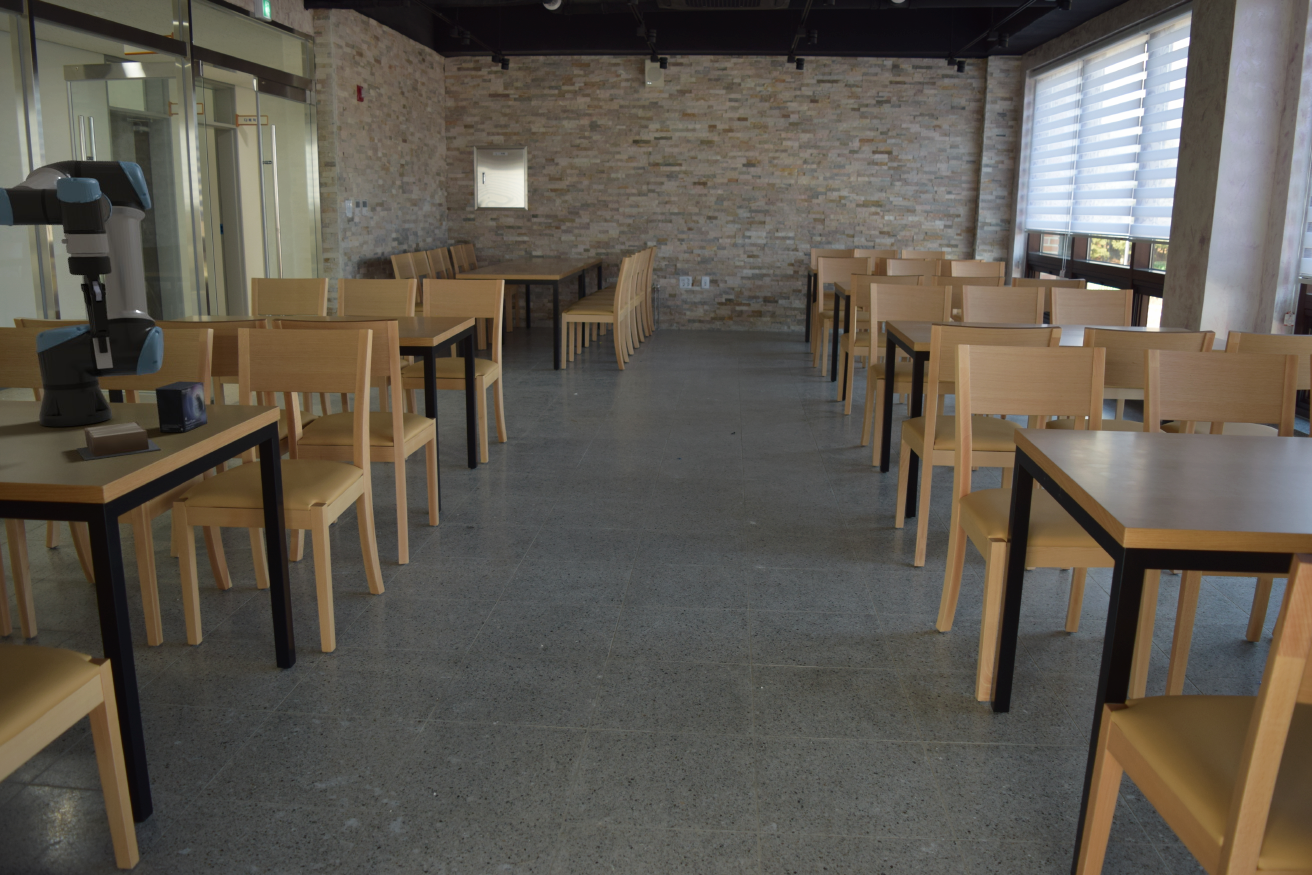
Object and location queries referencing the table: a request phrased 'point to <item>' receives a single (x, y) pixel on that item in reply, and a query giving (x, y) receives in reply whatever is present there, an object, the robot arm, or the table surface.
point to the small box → (181, 406)
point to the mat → (89, 455)
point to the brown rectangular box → (116, 439)
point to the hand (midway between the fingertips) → (105, 367)
